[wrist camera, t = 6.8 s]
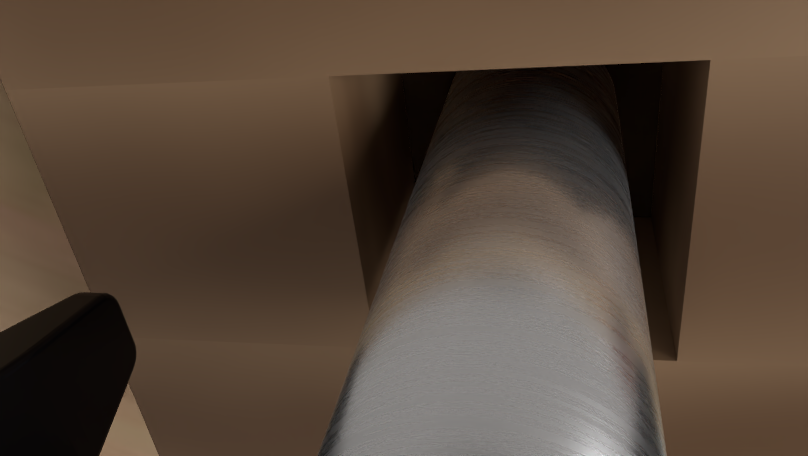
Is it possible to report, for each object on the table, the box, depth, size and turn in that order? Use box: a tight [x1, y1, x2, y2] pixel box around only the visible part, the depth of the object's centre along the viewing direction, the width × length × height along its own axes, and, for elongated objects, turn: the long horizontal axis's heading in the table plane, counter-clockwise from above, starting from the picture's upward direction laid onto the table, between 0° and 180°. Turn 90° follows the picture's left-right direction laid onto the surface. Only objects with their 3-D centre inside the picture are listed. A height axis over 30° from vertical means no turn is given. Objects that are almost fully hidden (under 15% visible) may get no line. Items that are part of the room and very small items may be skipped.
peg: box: [317, 65, 667, 456], centre depth 9 cm, size 3×3×10 cm
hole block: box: [0, 0, 808, 456], centre depth 11 cm, size 14×14×4 cm
